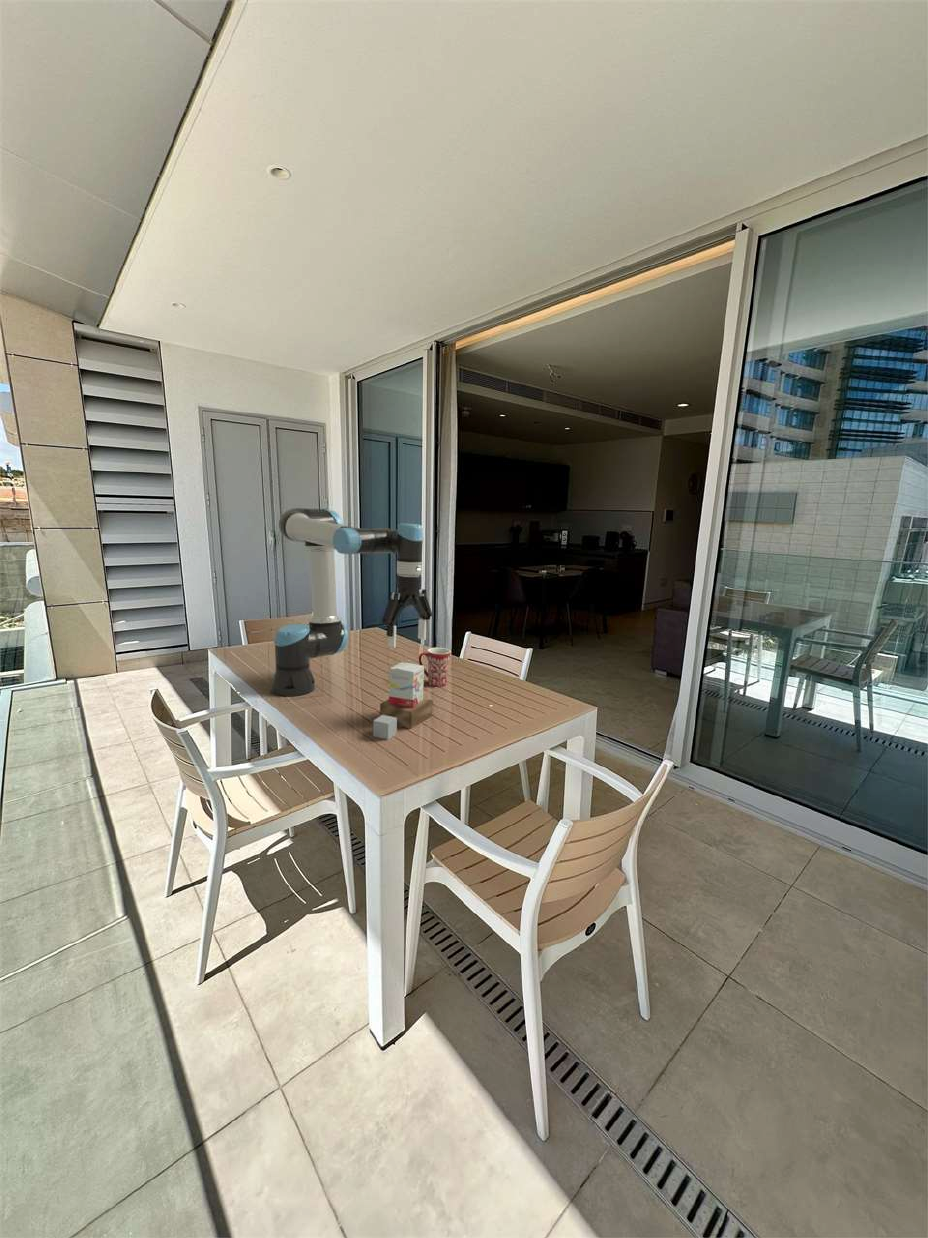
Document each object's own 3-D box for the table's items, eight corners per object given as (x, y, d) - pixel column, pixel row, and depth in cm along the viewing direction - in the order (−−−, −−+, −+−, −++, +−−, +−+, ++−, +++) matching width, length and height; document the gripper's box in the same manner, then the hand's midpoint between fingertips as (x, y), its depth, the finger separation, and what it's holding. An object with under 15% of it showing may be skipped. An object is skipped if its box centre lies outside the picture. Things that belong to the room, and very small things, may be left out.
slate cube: (373, 736, 146) (373, 720, 145) (382, 730, 151) (382, 714, 150) (388, 740, 145) (388, 723, 144) (396, 733, 149) (396, 717, 148)
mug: (452, 682, 197) (454, 649, 195) (444, 689, 189) (445, 654, 186) (423, 677, 202) (424, 645, 199) (413, 684, 193) (414, 650, 190)
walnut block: (380, 721, 158) (380, 703, 157) (402, 709, 169) (402, 692, 167) (411, 730, 153) (411, 711, 152) (432, 717, 163) (432, 700, 162)
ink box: (412, 708, 154) (413, 671, 152) (388, 704, 157) (388, 667, 155) (423, 699, 162) (424, 664, 160) (400, 695, 165) (400, 660, 163)
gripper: (388, 579, 140) (386, 652, 145) (444, 574, 160) (442, 638, 164) (369, 576, 145) (369, 647, 149) (427, 571, 164) (424, 634, 168)
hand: (407, 642), depth 157 cm, fingers open, 13 cm apart
